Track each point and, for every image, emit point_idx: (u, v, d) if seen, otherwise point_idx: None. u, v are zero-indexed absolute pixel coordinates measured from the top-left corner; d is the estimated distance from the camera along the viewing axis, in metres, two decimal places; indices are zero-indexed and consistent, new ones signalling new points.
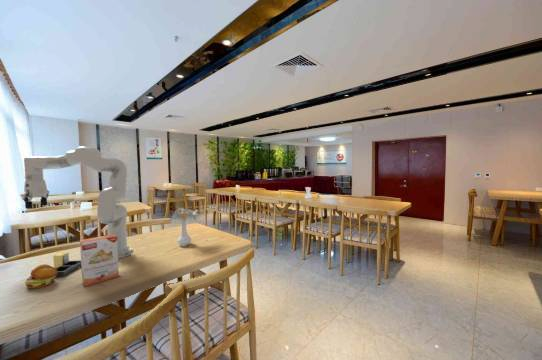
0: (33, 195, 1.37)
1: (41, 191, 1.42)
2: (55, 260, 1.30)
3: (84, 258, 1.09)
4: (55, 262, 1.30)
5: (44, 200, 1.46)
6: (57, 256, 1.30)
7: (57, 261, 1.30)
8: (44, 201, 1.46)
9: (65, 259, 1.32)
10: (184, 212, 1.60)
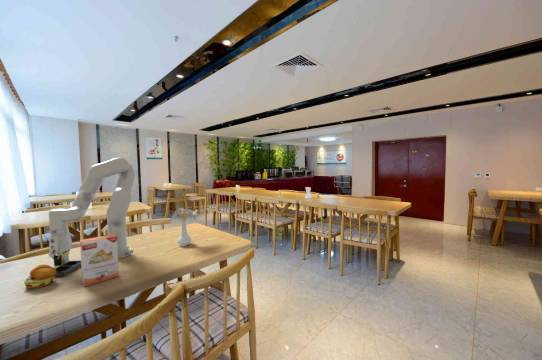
0: (58, 251, 1.27)
1: (66, 245, 1.32)
2: None
3: (84, 258, 1.09)
4: None
5: None
6: None
7: None
8: None
9: (65, 259, 1.32)
10: (184, 212, 1.60)
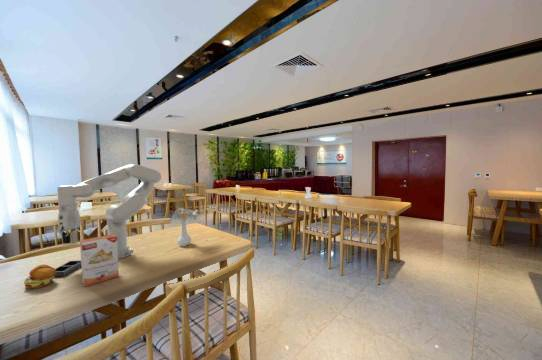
0: (67, 228, 1.24)
1: (75, 222, 1.29)
2: None
3: (84, 258, 1.09)
4: None
5: None
6: None
7: None
8: None
9: (73, 237, 1.29)
10: (184, 212, 1.60)
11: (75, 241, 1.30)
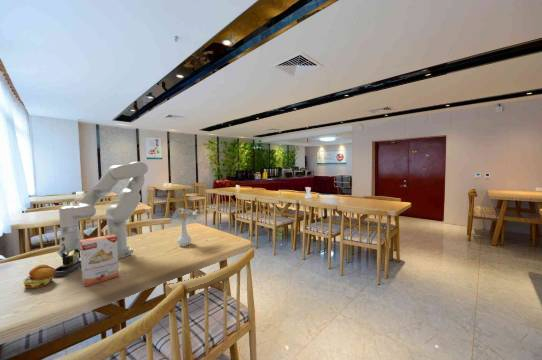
0: (69, 249, 1.25)
1: (76, 243, 1.30)
2: None
3: (84, 258, 1.09)
4: None
5: None
6: (68, 256, 1.28)
7: None
8: None
9: (76, 259, 1.30)
10: (184, 212, 1.60)
11: None
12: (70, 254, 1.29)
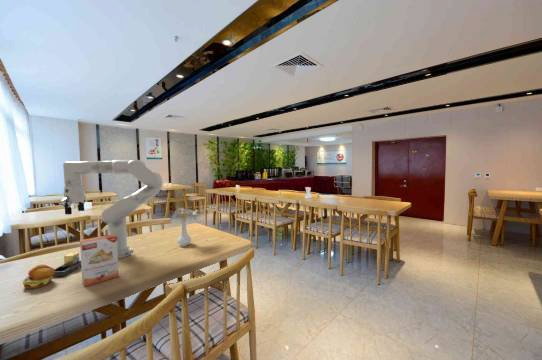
0: (73, 201, 1.34)
1: (79, 196, 1.39)
2: (66, 260, 1.28)
3: (84, 258, 1.09)
4: (66, 262, 1.28)
5: (81, 205, 1.43)
6: (68, 256, 1.28)
7: (68, 261, 1.28)
8: (81, 206, 1.43)
9: (76, 259, 1.30)
10: (184, 212, 1.60)
11: None
12: (70, 254, 1.29)
